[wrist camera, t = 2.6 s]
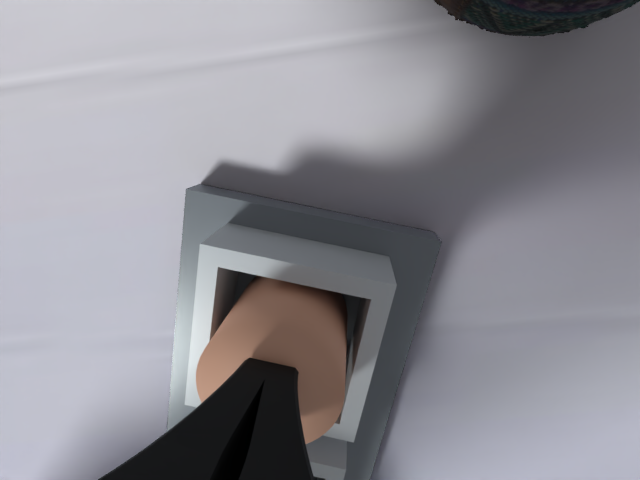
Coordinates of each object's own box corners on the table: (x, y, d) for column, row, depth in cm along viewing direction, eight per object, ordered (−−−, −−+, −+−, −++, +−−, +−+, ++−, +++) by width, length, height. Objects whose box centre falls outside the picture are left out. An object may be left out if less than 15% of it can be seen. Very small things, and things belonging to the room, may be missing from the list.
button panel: (324, 606, 20) (318, 707, 17) (164, 568, 21) (125, 659, 17) (434, 232, 14) (461, 267, 10) (199, 183, 14) (148, 202, 11)
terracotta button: (335, 373, 14) (328, 462, 10) (233, 350, 14) (190, 431, 11) (358, 277, 13) (359, 339, 9) (246, 254, 13) (202, 306, 9)
